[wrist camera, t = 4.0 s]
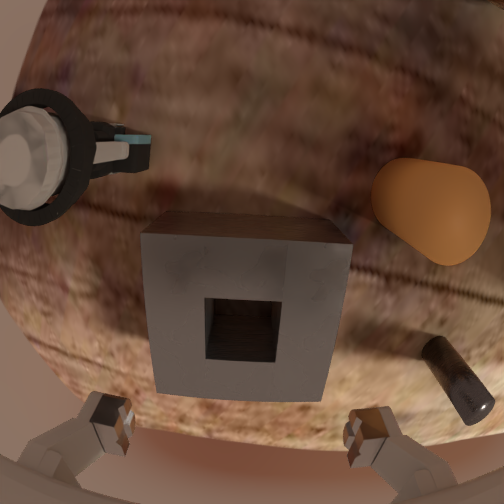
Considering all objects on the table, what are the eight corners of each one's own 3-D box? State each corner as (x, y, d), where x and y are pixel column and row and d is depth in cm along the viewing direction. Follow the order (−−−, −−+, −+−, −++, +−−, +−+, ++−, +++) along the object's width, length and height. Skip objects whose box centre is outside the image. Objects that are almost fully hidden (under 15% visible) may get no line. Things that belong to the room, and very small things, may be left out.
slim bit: (451, 335, 22) (500, 394, 15) (441, 360, 23) (484, 421, 16) (427, 337, 22) (474, 401, 15) (417, 362, 23) (458, 428, 16)
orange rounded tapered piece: (440, 163, 18) (497, 175, 13) (430, 235, 20) (479, 267, 14) (374, 151, 18) (421, 157, 12) (366, 230, 20) (405, 263, 14)
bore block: (329, 219, 20) (353, 244, 15) (309, 354, 23) (320, 401, 18) (166, 211, 19) (140, 233, 15) (172, 347, 23) (156, 392, 18)
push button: (63, 186, 19) (-43, 225, 9) (68, 108, 17) (-42, 101, 8) (153, 192, 19) (69, 240, 10) (161, 106, 17) (77, 77, 8)
